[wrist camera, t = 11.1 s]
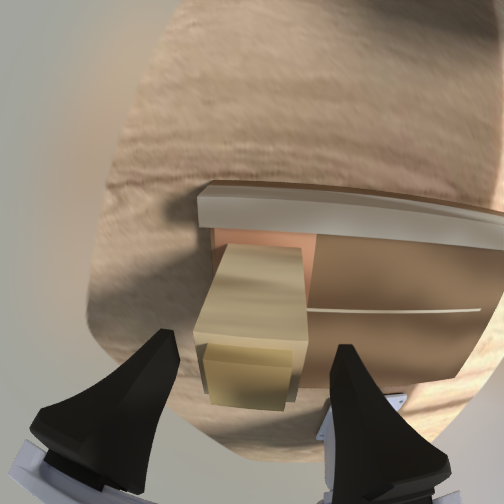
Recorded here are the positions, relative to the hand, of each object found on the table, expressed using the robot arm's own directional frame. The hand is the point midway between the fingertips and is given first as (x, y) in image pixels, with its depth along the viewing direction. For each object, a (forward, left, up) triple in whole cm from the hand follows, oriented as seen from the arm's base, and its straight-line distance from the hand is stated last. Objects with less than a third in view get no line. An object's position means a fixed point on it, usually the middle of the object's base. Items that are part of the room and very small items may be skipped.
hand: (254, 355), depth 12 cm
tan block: (+1, 0, -6) cm, 6 cm away
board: (-2, -8, -7) cm, 11 cm away
